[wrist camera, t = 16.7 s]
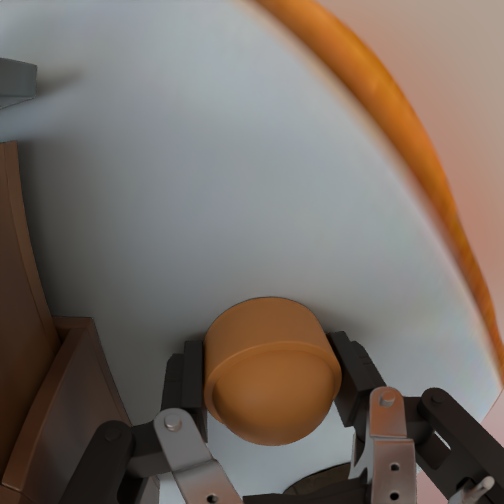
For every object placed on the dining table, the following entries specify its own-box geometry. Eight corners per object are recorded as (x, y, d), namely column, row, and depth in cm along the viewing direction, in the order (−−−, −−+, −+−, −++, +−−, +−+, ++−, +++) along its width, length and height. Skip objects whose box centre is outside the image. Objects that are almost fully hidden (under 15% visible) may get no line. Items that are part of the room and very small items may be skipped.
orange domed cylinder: (208, 390, 14) (210, 473, 10) (198, 299, 12) (194, 390, 8) (313, 382, 14) (341, 458, 10) (329, 292, 12) (377, 371, 8)
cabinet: (-77, 303, 10) (-151, 392, 2) (93, 316, 12) (14, 515, 3) (16, 454, 16) (-8, 534, 8) (160, 482, 18) (158, 585, 9)
